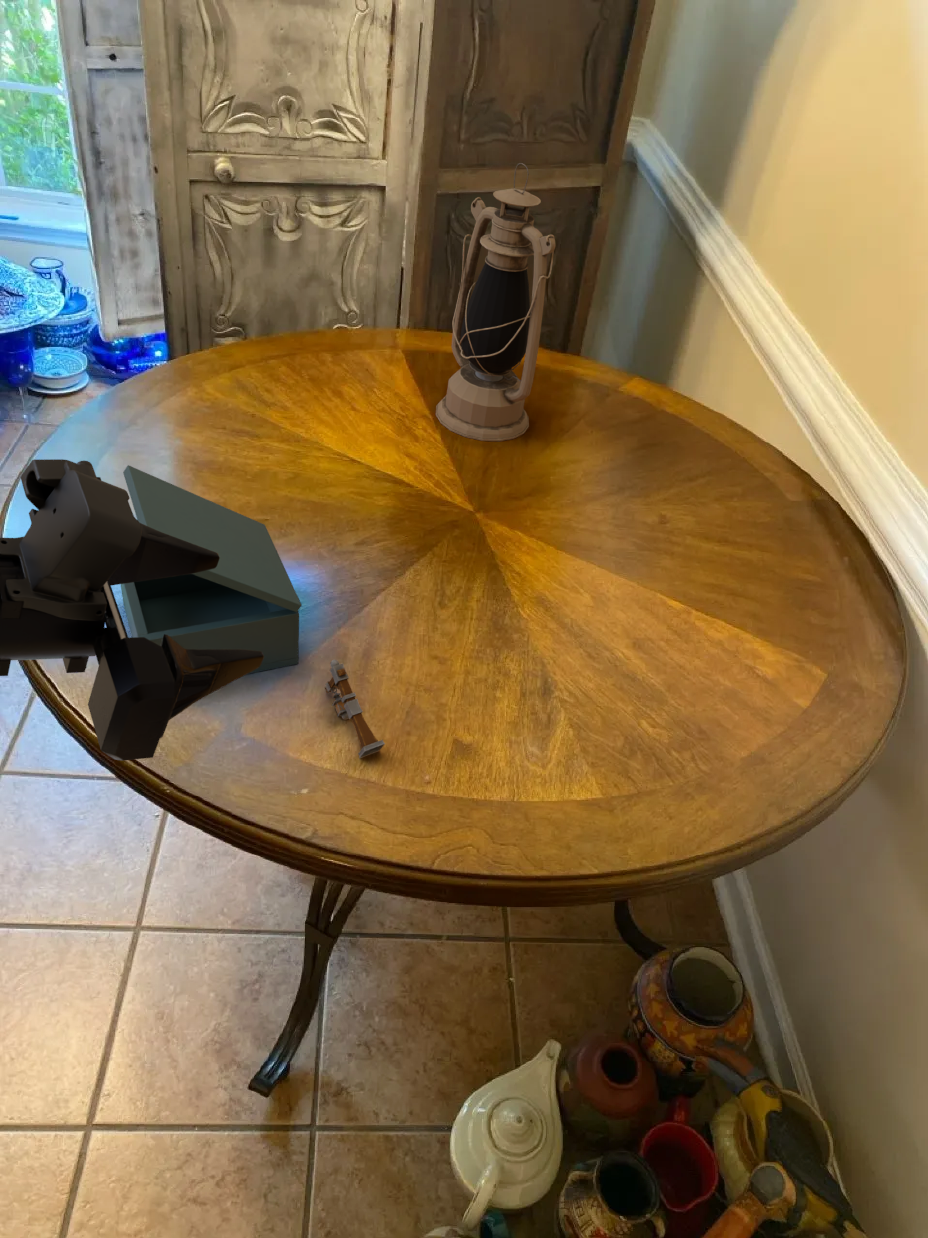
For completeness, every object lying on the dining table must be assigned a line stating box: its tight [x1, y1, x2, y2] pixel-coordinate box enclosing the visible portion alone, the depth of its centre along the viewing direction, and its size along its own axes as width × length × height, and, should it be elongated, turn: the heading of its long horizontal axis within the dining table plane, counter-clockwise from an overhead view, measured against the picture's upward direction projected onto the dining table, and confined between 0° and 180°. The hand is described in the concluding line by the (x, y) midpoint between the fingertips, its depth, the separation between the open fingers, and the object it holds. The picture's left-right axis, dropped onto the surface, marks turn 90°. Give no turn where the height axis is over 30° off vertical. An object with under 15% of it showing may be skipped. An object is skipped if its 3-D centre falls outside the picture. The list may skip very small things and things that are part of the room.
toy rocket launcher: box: [324, 659, 386, 759], centre depth 73 cm, size 2×8×4 cm, turn 32°
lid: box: [123, 464, 303, 612], centre depth 74 cm, size 13×12×1 cm
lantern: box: [435, 162, 556, 442], centre depth 106 cm, size 14×12×30 cm
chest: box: [120, 574, 300, 675], centre depth 78 cm, size 13×12×6 cm
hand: (238, 607), depth 59 cm, fingers open, 9 cm apart
